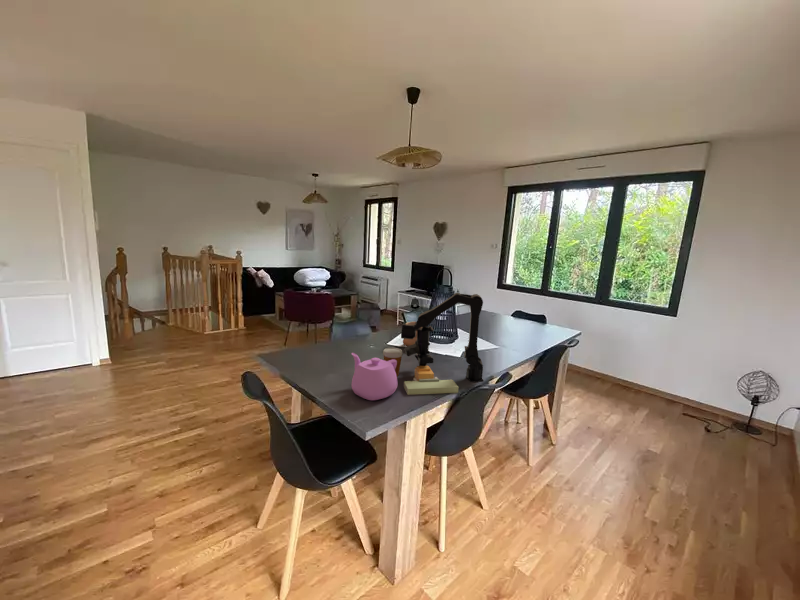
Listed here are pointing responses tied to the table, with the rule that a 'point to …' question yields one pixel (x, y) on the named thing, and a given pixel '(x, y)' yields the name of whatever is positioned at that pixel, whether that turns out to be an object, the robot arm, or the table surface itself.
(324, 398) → the table surface
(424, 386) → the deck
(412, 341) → the ceramic jug
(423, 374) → the orange block with panel
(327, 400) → the table surface
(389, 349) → the disposable coffee cup
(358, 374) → the teapot
